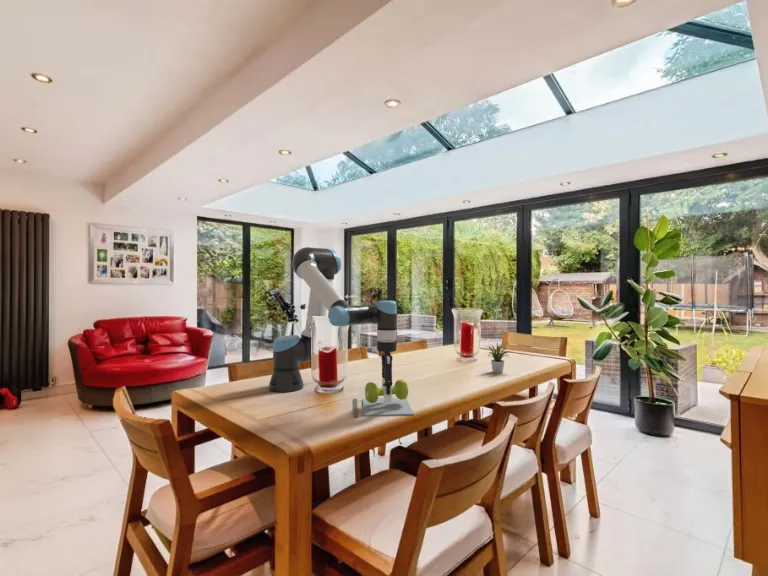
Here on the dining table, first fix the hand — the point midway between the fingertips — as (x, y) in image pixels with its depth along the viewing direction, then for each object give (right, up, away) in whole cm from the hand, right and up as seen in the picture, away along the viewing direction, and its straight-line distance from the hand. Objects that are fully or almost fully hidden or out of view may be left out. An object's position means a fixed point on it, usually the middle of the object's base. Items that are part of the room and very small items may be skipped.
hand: (386, 398), depth 153 cm
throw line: (-12, -3, -1) cm, 12 cm away
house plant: (+60, -3, +61) cm, 86 cm away
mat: (0, -3, 0) cm, 3 cm away
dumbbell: (0, -1, 0) cm, 1 cm away
